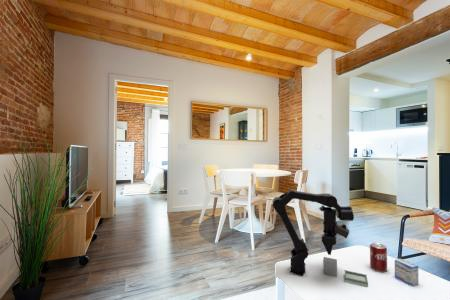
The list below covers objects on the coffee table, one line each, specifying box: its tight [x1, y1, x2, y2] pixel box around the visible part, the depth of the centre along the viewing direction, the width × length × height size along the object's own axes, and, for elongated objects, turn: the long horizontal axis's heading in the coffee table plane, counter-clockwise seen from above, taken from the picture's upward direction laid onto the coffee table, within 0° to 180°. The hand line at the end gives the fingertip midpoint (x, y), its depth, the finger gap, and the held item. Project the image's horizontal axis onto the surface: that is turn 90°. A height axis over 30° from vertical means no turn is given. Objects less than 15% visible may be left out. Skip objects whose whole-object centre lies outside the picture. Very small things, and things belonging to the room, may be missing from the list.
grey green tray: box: [344, 270, 369, 288], centre depth 106 cm, size 9×7×2 cm
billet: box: [322, 256, 338, 278], centre depth 112 cm, size 6×4×7 cm, turn 62°
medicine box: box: [394, 258, 420, 287], centre depth 106 cm, size 8×4×9 cm, turn 21°
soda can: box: [369, 242, 388, 273], centre depth 116 cm, size 7×7×12 cm
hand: (329, 250), depth 112 cm, fingers open, 9 cm apart
